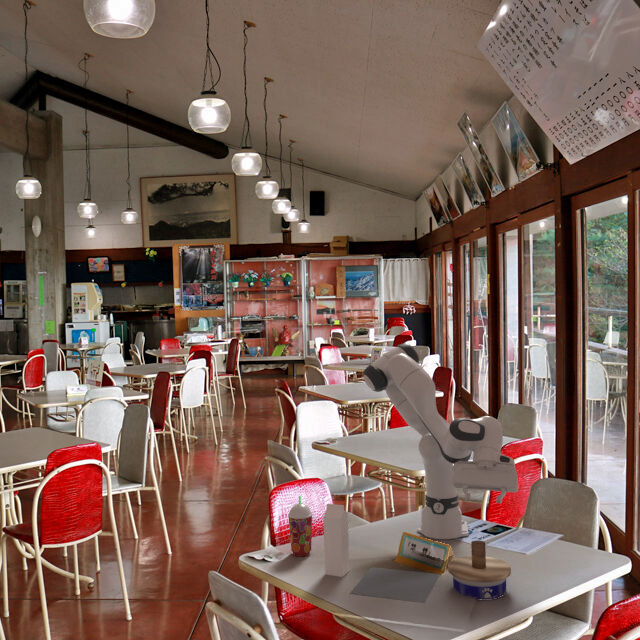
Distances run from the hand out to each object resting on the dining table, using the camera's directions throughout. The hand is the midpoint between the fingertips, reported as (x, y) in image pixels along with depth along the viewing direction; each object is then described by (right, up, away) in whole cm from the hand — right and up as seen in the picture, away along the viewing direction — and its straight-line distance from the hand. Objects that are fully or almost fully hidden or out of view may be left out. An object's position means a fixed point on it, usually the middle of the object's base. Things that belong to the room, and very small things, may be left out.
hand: (483, 501), depth 216 cm
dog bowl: (-3, -24, -10) cm, 26 cm away
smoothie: (-56, -25, +25) cm, 67 cm away
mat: (-27, -24, -6) cm, 37 cm away
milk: (-45, -25, +5) cm, 51 cm away
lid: (-4, -18, -10) cm, 21 cm away
